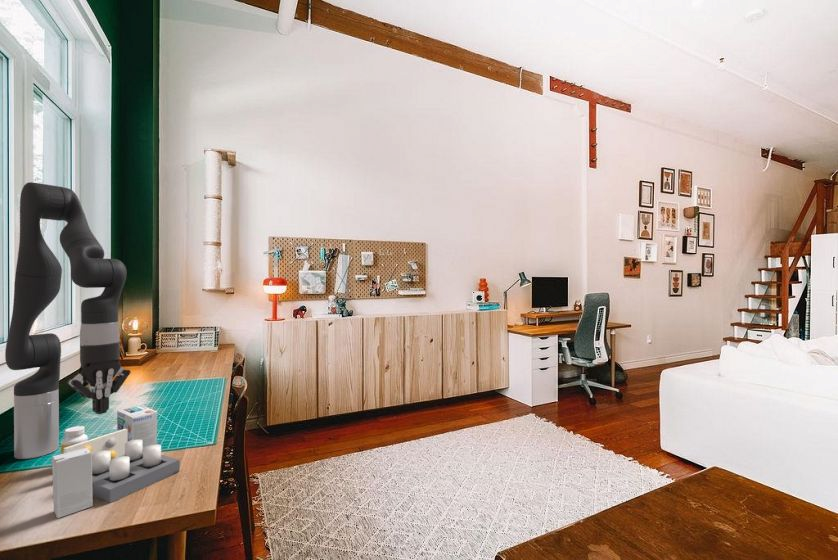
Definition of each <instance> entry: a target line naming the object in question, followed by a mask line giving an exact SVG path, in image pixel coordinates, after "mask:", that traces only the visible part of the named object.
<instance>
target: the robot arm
mask: <svg viewBox="0 0 838 560" xmlns="http://www.w3.org/2000/svg"><path fill="white" fill-rule="evenodd" d="M19 197H20V199H19V242H18V243H19V244H18V252H17V260H16V267H15V274H14V275H15V276H14V283H13V284H14V288H13V289H14V290H13V303H12V304H13V305H12V313H11V318H10V319H11V320H10V324H9V325H10V326H9V329H8V335H7V340H6V345H5V346H6V347H5V351H4V352H5V353H4V356H5V359H4V360H5V364H6V366H7V367H8V368H9V369H10V370H11V371H22V370H29V369H30V370H31V369H37V368H39V369H38V370H37V371H36V372H35V373H34V374H32V375H31V376H29V377H26V378H25V379H23V380H19V382H16V383H15V384H14V386H13V426H14V427H13V431H14V432H13V437H14V438H13V444H14V445H13V451H14V452H13V453H14V455H13V457H14V459H17V460H18V459H19V460H27V459H34V458H39V457H43V456H46V455H48V454H49V455H50V454H51V453H54V452H56V451H58V449H59V448H60V444H59V443H60V425H59V424H60V422H59V421H60V417H59V416H60V412H59V411H60V410H59V409H60V403H59V402H60V400H59V398H60V397H59V393H60V390H59V388H60V387H59V386H60V385H59V383H60V379H61V377H60V375H61V360H62V359H61V358H62V346H61V345H62V344H61V340H60V338H59V337H58V335H57V334H55V333H38V334H31V330H32V327H33V325H34V323H35V322H36V320H37V319H38V317H39V316H40V315H41V314H42V312H43V311H45V309H46V308H48V306H49V305H50V304H51V303H52V302H53V301H54V300H55V298H57V296H58V295H59V293H60V290H61V284H62V282H61V281H62V274H63V268H62V265H61V263H60V262H59V260H58V258H57V256H56V255H55V253H54V252H53V251H52V250H51V248H50V247H49V245H48V244H47V242H46V240H45V239H44V236H43V234H42V230H41V220H51V221H65V222H66V225H65V226H64V227H63V229H62V230H61V232H60V234H59V243H60V245H61V248H62V250H63V251H64V253H65V254H66V256H67V258H68V260H69V264H70V278H71V281H72V282H73V283H74V284H75V285H76V286H78V287H80V288H86V289H88V288H89V289H91V288H94V289H95V288H96V289H97V288H102V289H103V288H104V289H103V291H102V292H101V294H100V295H98V296H94V297H93V296H92V297H88V298H86V299H84V300H82V302H81V304H80V323H81V324H80V329H79V330H80V331H79V362H80V366H79V369H78V371H77V373H78V374H77V375H75V376H74V377H73V378H70V379H68V380H67V382H66V383H67V384H68V385H69V386H70V387H71V388H72V389H73V390H74V391H75V392H77V393H78V394H79V395H80V396H81V397H83V398H86V399H87V398H88V399H90V400H92V405H91V406H92V407H91V409H92V412H93V413H94V414H95V415H102V414H106V413H107V412H108V410H109V408H110V397H111V395H113V394H115V393H117V392H119V390H120V388H121V387H122V386H123V384H124V383H125V382H126V380H127V379H128V377H129V375H130V374H131V370H130V369H125V368H124V367H122V364H121V361H119V360H120V355H121V354H120V348H121V347H120V327H119V303H120V299H121V295H122V293H123V292H122V291H123V288H124V285H125V283H126V280H127V275H128V274H127V267H126V265H125V264H124V262H122V261H121V260H119V259H116V258H105V251H104V249H103V246H102V245H101V243H100V242H99V240H97V238H96V237H95V235H94V234H93V232H92V230H91V228H90V225H89V223H88V220H87V217H86V214H85V212H84V209H83V207H82V203H81V201H80V199H79V196H78V195H77V194H76V192H75V191H73V189H71V188H68V187H63V186H58V185H52V184H44V183H40V182H32V181H31V182H26V183H25V184H24V185H23V187H22V189H21V192H20V196H19ZM84 381H85V382H86V383H87V384H88V387H86V386H85V385H84ZM88 388H89V389H88Z"/></svg>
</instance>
